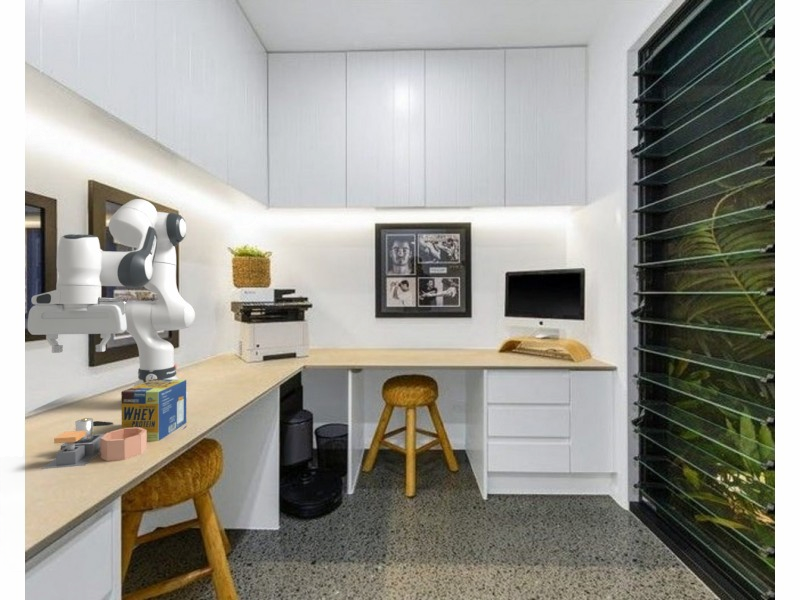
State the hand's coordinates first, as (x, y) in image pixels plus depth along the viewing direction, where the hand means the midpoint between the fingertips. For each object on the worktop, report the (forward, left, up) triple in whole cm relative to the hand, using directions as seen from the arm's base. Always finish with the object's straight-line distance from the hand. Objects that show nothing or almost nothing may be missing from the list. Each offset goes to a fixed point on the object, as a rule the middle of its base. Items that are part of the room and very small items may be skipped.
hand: (79, 352), depth 99 cm
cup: (+1, +10, -28) cm, 30 cm away
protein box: (-14, +13, -28) cm, 34 cm away
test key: (+4, 0, -24) cm, 25 cm away
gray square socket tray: (0, 0, -28) cm, 28 cm away
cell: (-3, 0, -26) cm, 27 cm away
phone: (-22, -10, -29) cm, 38 cm away
